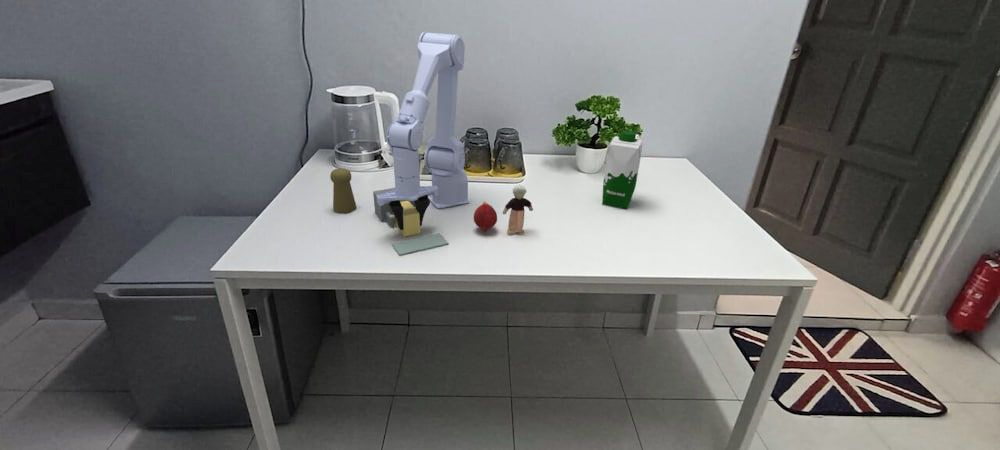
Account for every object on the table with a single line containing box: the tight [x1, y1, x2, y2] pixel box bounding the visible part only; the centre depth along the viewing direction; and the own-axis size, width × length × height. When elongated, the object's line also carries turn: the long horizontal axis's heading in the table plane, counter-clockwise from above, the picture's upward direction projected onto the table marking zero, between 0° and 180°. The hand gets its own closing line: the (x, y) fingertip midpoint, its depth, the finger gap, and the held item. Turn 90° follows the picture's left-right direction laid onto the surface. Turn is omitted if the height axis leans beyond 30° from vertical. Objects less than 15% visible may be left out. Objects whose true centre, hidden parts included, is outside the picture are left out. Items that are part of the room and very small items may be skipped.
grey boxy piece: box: [372, 187, 415, 228], centre depth 126 cm, size 9×10×6 cm
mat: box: [391, 232, 450, 257], centre depth 115 cm, size 12×6×1 cm, turn 119°
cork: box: [329, 167, 358, 215], centre depth 128 cm, size 6×6×11 cm
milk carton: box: [601, 130, 643, 210], centre depth 135 cm, size 9×9×20 cm
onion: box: [473, 200, 498, 232], centre depth 120 cm, size 6×6×8 cm
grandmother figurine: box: [502, 184, 534, 236], centre depth 119 cm, size 8×4×13 cm, turn 117°
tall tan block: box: [393, 201, 421, 238], centre depth 120 cm, size 4×8×6 cm, turn 29°
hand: (409, 226), depth 119 cm, fingers closed on tall tan block, 4 cm apart
